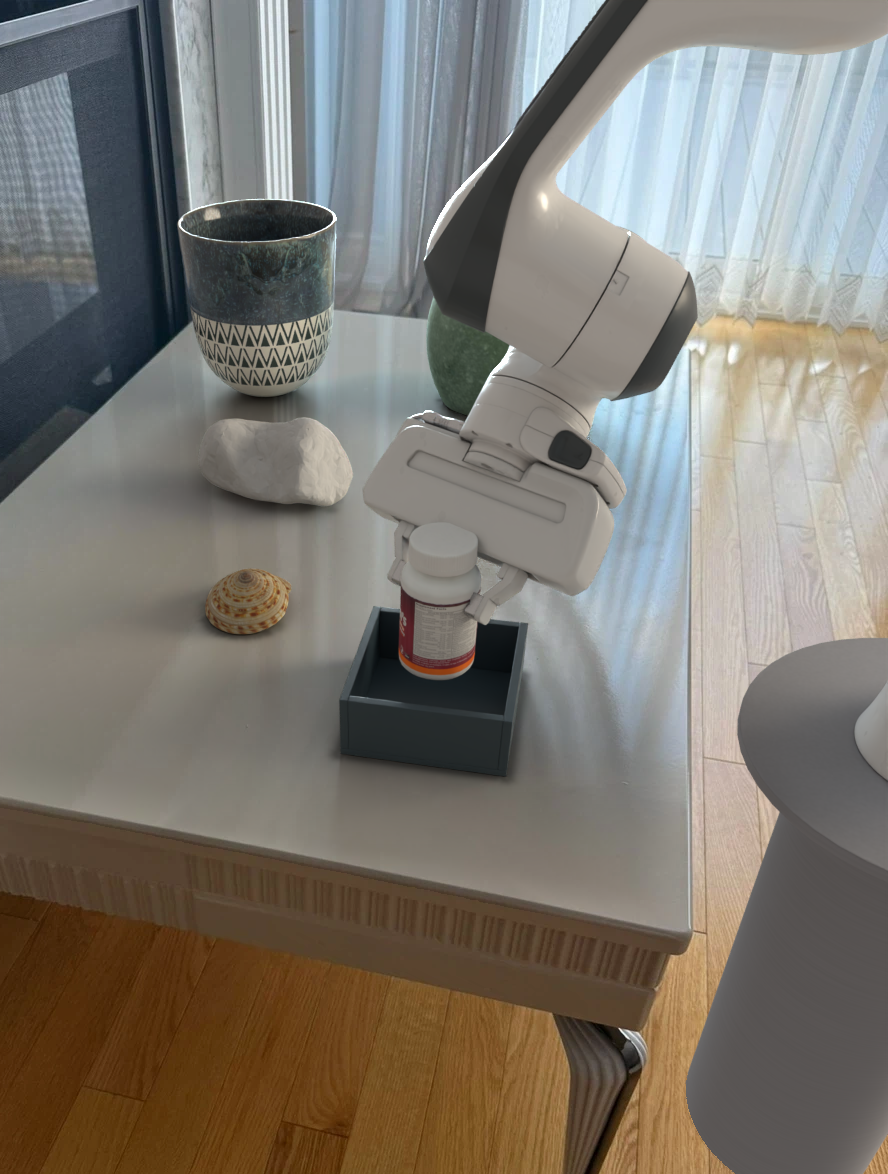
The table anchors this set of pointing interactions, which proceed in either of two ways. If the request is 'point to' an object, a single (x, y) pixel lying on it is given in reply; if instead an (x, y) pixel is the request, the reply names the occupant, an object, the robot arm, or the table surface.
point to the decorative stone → (276, 461)
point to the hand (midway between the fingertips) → (435, 602)
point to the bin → (433, 701)
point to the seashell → (247, 601)
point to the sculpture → (460, 359)
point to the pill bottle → (438, 602)
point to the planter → (261, 290)
